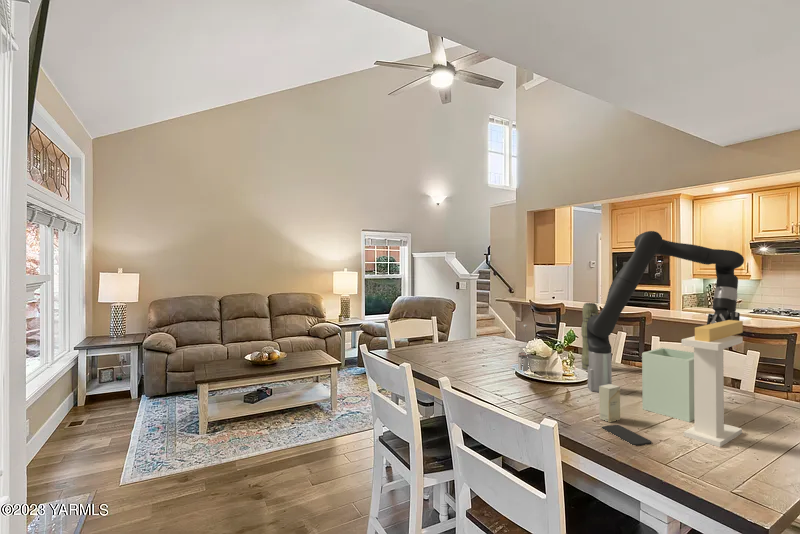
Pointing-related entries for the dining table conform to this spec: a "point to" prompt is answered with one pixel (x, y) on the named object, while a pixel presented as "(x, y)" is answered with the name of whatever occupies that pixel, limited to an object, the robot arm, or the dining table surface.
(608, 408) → the skincare box
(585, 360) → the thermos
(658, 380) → the tote
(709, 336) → the box
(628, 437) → the phone
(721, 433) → the shelf stand
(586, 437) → the dining table surface
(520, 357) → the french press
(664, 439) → the dining table surface
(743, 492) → the dining table surface
